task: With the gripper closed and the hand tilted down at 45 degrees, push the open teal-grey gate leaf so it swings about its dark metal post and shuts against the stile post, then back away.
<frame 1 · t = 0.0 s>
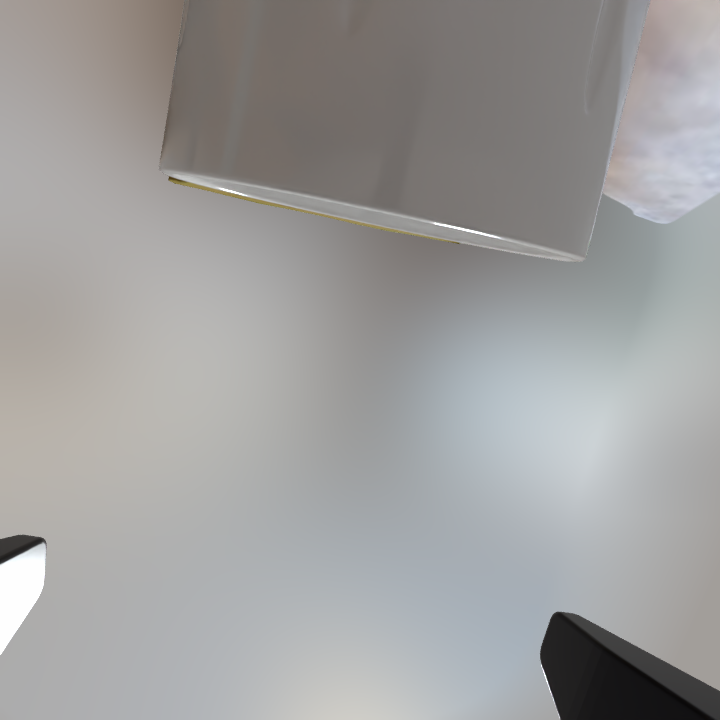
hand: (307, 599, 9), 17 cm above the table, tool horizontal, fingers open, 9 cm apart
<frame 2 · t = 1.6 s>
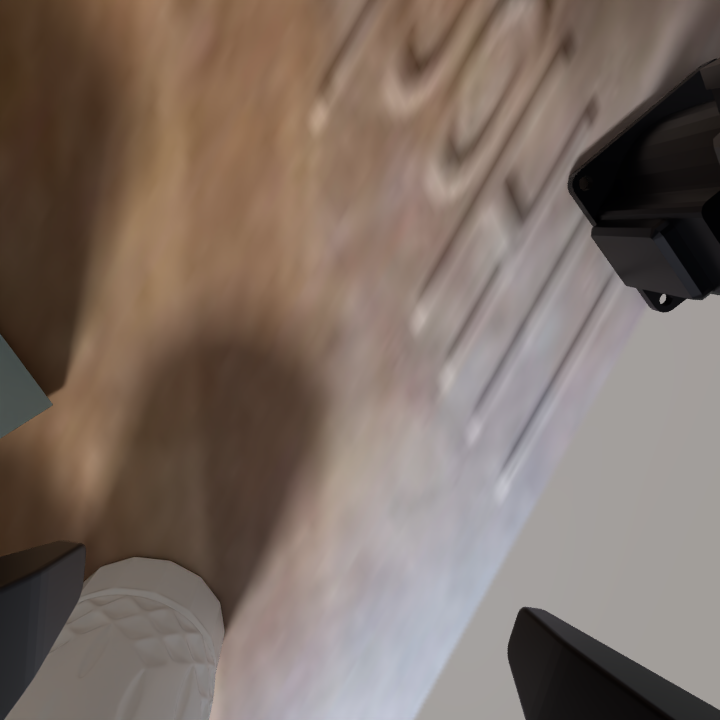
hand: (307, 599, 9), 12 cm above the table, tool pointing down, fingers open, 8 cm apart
white cup: (150, 617, 23), on the table
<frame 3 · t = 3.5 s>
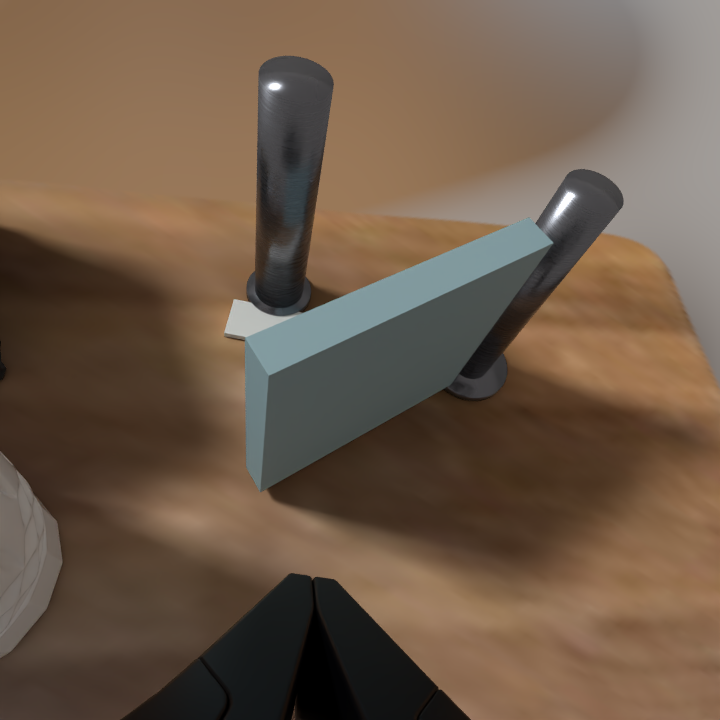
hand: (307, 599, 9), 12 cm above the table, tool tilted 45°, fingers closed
gate: (380, 369, 19), point 5 cm above the table, hinge at 40.0°
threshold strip: (327, 336, 26), on the table
hinge post: (466, 365, 27), on the table
stile post: (278, 293, 27), on the table
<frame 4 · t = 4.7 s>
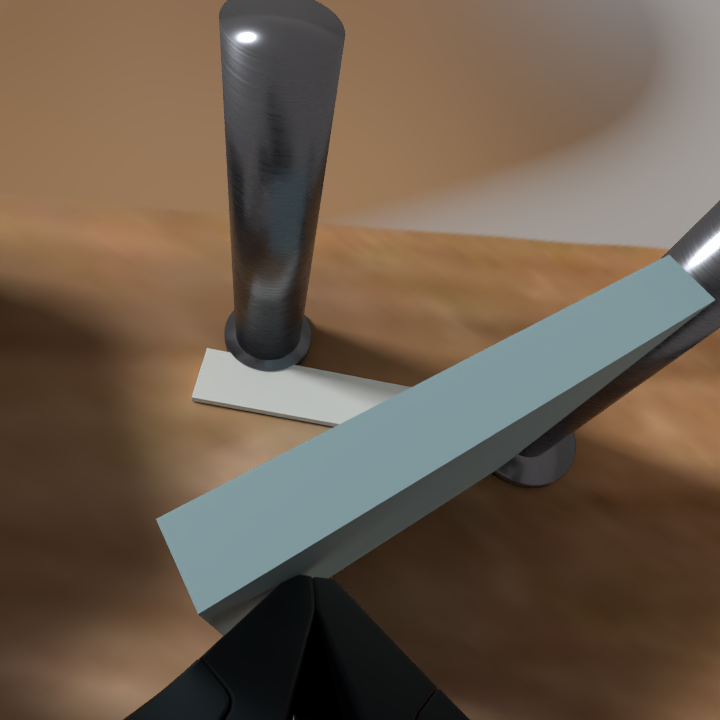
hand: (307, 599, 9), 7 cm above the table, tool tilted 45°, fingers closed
gate: (413, 480, 12), point 6 cm above the table, hinge at 39.0°, touching gripper
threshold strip: (333, 398, 19), on the table
hinge post: (520, 435, 20), on the table
stile post: (268, 338, 20), on the table
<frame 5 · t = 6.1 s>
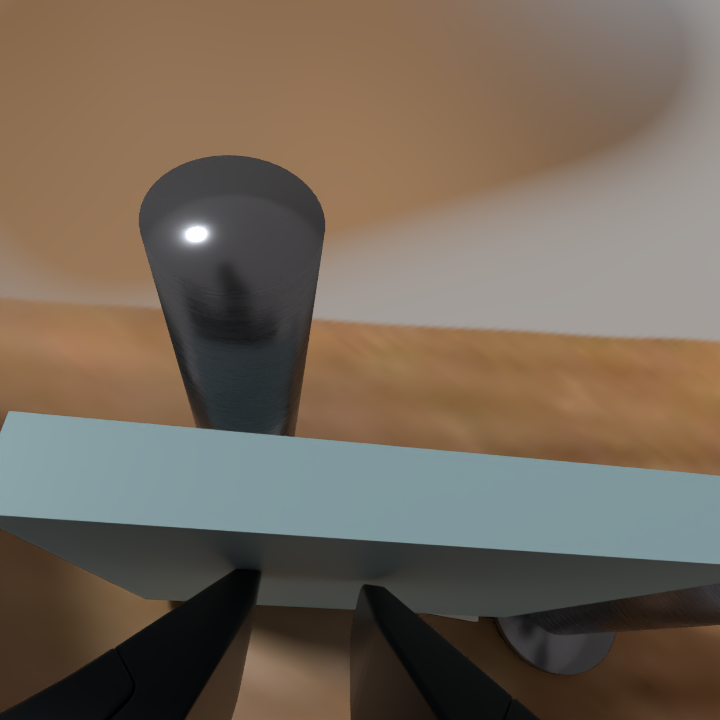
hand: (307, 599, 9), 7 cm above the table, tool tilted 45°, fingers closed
gate: (361, 558, 11), point 6 cm above the table, hinge at 6.5°, touching gripper
hinge post: (549, 599, 16), on the table
stile post: (251, 474, 17), on the table
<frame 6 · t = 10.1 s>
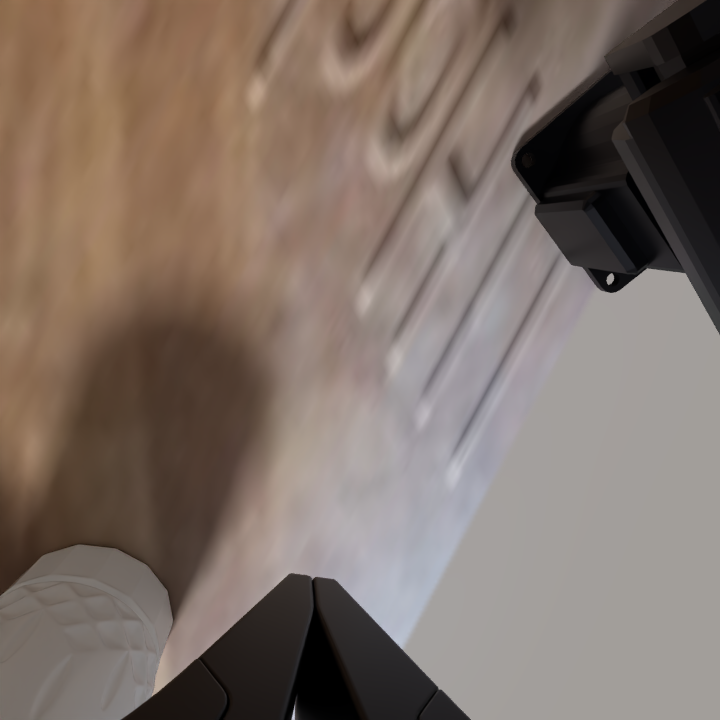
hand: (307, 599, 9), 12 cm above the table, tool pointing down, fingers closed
white cup: (97, 607, 23), on the table
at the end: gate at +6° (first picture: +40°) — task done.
